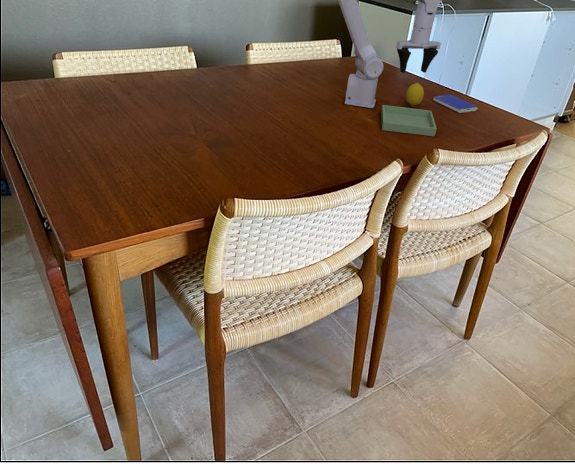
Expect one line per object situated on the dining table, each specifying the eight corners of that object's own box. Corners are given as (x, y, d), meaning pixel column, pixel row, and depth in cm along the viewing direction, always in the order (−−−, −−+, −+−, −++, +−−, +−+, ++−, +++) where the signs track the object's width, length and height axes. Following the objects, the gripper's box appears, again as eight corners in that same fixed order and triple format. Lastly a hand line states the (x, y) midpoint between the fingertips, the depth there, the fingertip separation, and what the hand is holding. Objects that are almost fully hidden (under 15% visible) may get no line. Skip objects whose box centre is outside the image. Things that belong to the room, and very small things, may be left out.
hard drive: (433, 96, 161) (460, 108, 152) (451, 94, 164) (478, 106, 155) (432, 100, 161) (458, 113, 153) (450, 98, 165) (476, 110, 156)
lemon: (422, 106, 156) (427, 82, 151) (418, 111, 152) (424, 86, 147) (405, 102, 158) (410, 79, 153) (401, 107, 153) (407, 83, 149)
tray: (381, 130, 136) (383, 122, 135) (381, 112, 148) (382, 104, 147) (434, 136, 135) (436, 128, 133) (429, 117, 147) (431, 110, 146)
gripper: (407, 29, 139) (398, 75, 146) (450, 30, 142) (438, 75, 150) (396, 24, 144) (388, 69, 152) (437, 25, 148) (427, 68, 156)
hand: (412, 71), depth 151 cm, fingers open, 7 cm apart
